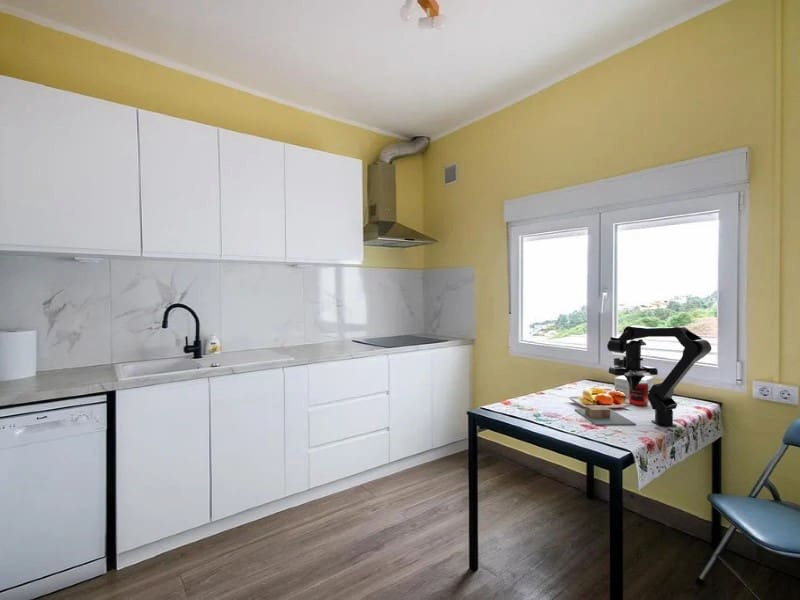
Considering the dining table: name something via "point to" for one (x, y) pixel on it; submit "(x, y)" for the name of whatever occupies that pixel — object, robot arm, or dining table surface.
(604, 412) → the block
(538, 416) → the dining table surface
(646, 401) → the canned food
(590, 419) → the mat
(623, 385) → the supplement box
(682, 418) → the dining table surface
